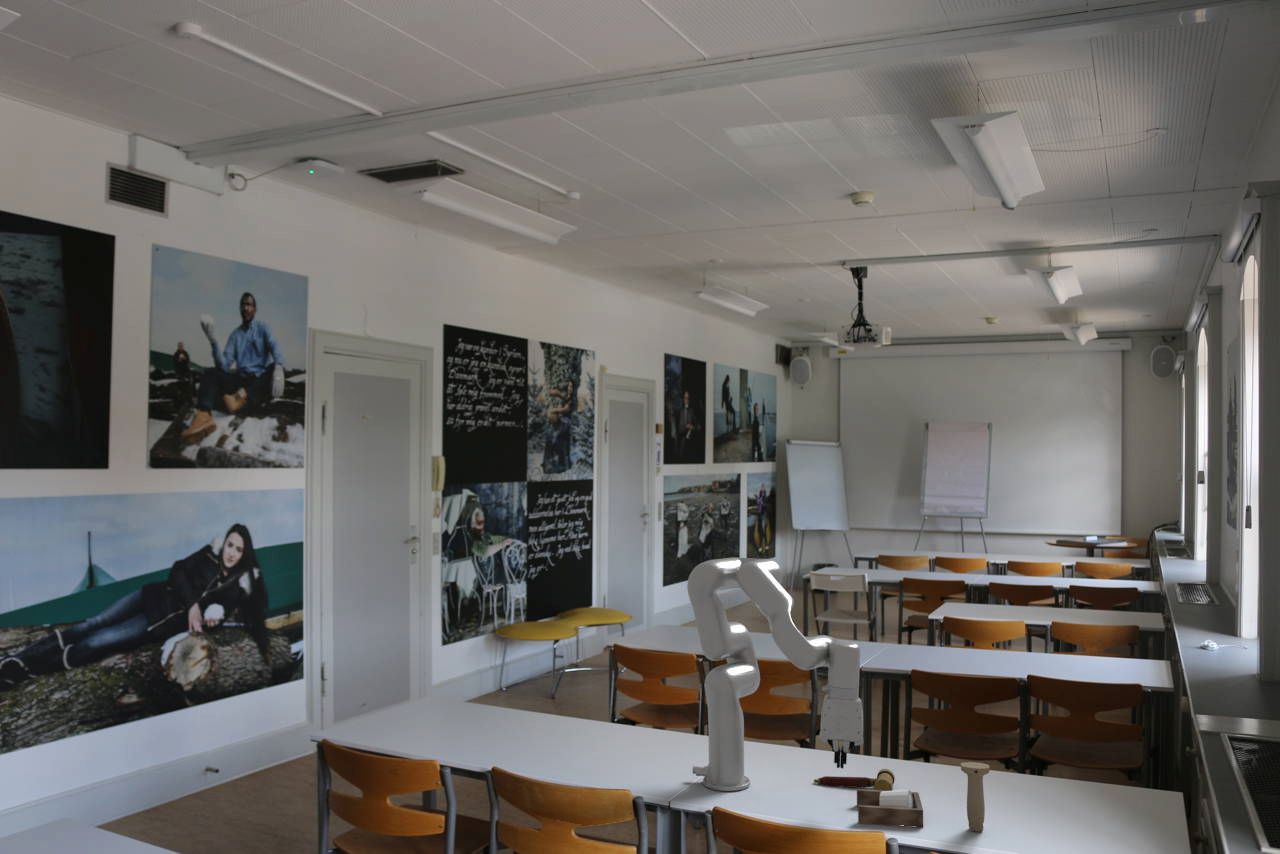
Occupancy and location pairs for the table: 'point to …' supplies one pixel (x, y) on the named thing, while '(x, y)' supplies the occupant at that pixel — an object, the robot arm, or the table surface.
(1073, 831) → the table surface
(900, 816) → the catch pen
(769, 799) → the table surface
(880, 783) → the gavel
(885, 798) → the white short tapered cylinder
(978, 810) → the handle
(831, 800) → the table surface
